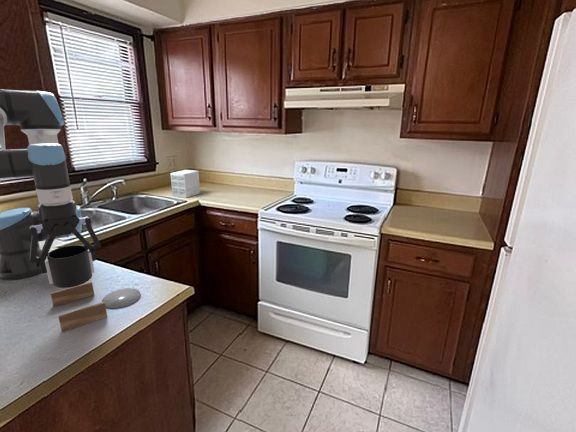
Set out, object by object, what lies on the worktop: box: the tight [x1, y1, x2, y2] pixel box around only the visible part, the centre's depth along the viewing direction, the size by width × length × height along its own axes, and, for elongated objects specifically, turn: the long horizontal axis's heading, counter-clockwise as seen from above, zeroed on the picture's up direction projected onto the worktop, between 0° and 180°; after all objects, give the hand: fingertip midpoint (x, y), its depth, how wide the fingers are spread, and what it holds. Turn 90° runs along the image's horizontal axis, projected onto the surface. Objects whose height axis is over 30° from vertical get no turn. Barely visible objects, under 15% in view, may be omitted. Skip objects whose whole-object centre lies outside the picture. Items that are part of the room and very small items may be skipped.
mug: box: [47, 244, 93, 289], centre depth 91 cm, size 9×12×9 cm
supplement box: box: [169, 169, 201, 199], centre depth 239 cm, size 17×13×18 cm
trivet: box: [101, 287, 141, 309], centre depth 101 cm, size 11×11×1 cm
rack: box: [50, 281, 108, 333], centre depth 94 cm, size 17×11×4 cm, turn 42°
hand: (72, 276), depth 92 cm, fingers closed on mug, 9 cm apart
